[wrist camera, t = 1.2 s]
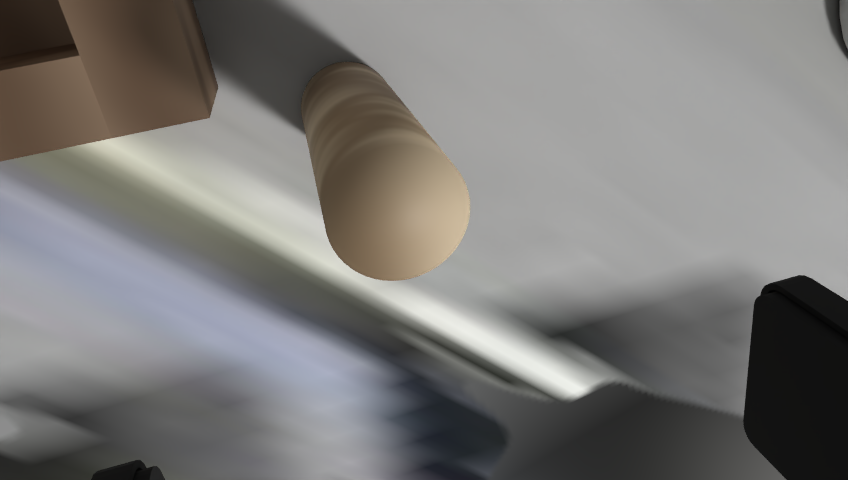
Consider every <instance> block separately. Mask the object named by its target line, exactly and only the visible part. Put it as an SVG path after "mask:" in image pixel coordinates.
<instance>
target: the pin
mask: <svg viewBox="0 0 848 480" xmlns="http://www.w3.org/2000/svg"><path fill="white" fill-rule="evenodd" d="M301 114H302V119H303V124H304V129H305V133H306V138H307V143H308V148H309V152H310V157H311V162H312V167H313V172H314V176H315V181H316V186H317V191H318V195H319V200H320V205H321V210H322V214H323V219H324V224H325V229H326V233H327V236H328V239H329V242H330V244H331V246H332V248H333V250H334V251H335V252H336V254H337V255H338V257H339V258H340V259H341V260H342V261H343V262H344V263H345V264H346V265H348V266H349V267H350V268H352V269H353V270H355V271H356V272H358V273H360V274H362V275H365V276H367V277H371V278H374V279H379V280H388V281H396V280H405V279H410V278H414V277H417V276H420V275H422V274H425V273H427V272H429V271H431V270H432V269H434V268H436V267H437V266H439V265H440V264H441V263H443V262H444V261H445V260H446V259H447V258H448V257H449V256H450V255H451V254H452V253H453V252H454V250H455V249H456V248H457V246H458V245H459V243H460V242H461V240H462V238H463V236H464V234H465V231H466V228H467V225H468V221H469V216H470V198H469V193H468V189H467V186H466V184H465V181H464V179H463V178H462V176H461V174H460V173H459V171H458V170H457V168H456V167H455V166H454V165H453V163H452V162H451V161H450V160H449V158H448V157H447V156H446V155H445V154H444V152H443V151H442V150H441V149H440V147H439V146H438V145H437V144H436V143H435V141H434V140H433V139H432V138H431V136H430V135H429V134H428V133H427V132H426V130H425V129H424V128H423V127H422V125H421V124H420V123H419V122H418V120H417V119H416V118H415V117H414V116H413V114H412V113H411V112H410V111H409V109H408V108H407V107H406V106H405V105H404V103H403V102H402V101H401V100H400V98H399V97H398V96H397V95H396V94H395V92H394V91H393V90H392V89H391V87H390V86H389V85H388V84H387V82H386V81H385V80H384V79H383V78H382V77H381V76H380V75H379V73H377V72H376V71H375V70H373V69H372V68H370V67H368V66H366V65H363V64H360V63H356V62H339V63H335V64H332V65H329V66H327V67H325V68H323V69H322V70H320V71H319V72H318V73H316V74H315V75H314V76H313V78H312V79H311V80H310V81H309V83H308V84H307V86H306V88H305V91H304V93H303V97H302V102H301Z"/></svg>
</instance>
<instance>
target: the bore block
mask: <svg viewBox="0 0 848 480" xmlns="http://www.w3.org/2000/svg"><path fill="white" fill-rule="evenodd" d="M217 90H218V84H217V81H216V78H215V74H214V71H213V68H212V64H211V61H210V58H209V54H208V51H207V48H206V44H205V41H204V38H203V34H202V31H201V28H200V24H199V21H198V18H197V14H196V11H195V8H194V4H193V1H192V0H0V161H4V160H9V159H14V158H19V157H24V156H28V155H33V154H38V153H43V152H48V151H52V150H57V149H62V148H67V147H72V146H77V145H81V144H86V143H91V142H96V141H101V140H105V139H110V138H115V137H120V136H125V135H129V134H134V133H139V132H144V131H149V130H153V129H158V128H163V127H168V126H173V125H177V124H182V123H187V122H192V121H197V120H201V119H206V118H210V114H211V111H212V107H213V104H214V100H215V97H216V93H217Z"/></svg>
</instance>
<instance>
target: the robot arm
mask: <svg viewBox="0 0 848 480" xmlns="http://www.w3.org/2000/svg"><path fill="white" fill-rule="evenodd" d="M840 22H841V28H842V33H843V39H844V42H845V44H846V46H847V49H848V0H840ZM743 421H744V429H745V432H746V435H747V437H748V439H749V440H750V442H751V443H752V444H753V445H754V446H755V448H756V449H757V450H758V451H759V452H760V453H761V454H762V455H763V456H764V457H765V458H766V459H767V460H768V461H769V462H770V463H771V464H772V465H773V466H774V467H775V468H776V469H777V470H778V471H779V472H780V473H781V474H782V475H783V476H784V477H785V478H786V479H787V480H848V301H847V300H845V299H844V298H842V297H840V296H839V295H837V294H836V293H834V292H832V291H831V290H829V289H828V288H826V287H824V286H823V285H821V284H819V283H818V282H816V281H815V280H813V279H811V278H809V277H807V276H802V275H799V276H795V277H791V278H788V279H784V280H781V281H777V282H773V283H770V284H768V285H766V286H764V288H763V289H762V291H761V295H760V296H759V297H757V299H756V300H755V303H754V311H753V322H752V333H751V344H750V355H749V366H748V377H747V388H746V399H745V410H744V420H743ZM91 480H165V479H164V477H163V474H162V472H161V471H160V469H159V468H158V467H157V466H153V467H150V468H146V466H145V464H144V463H143V462H142V461H141V460H135V461H132V462H128V463H125V464H121V465H117V466H114V467H110V468H107V469H103V470H100V471H97V472H96V473H95V474H94V475H93V477H92V479H91Z"/></svg>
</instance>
